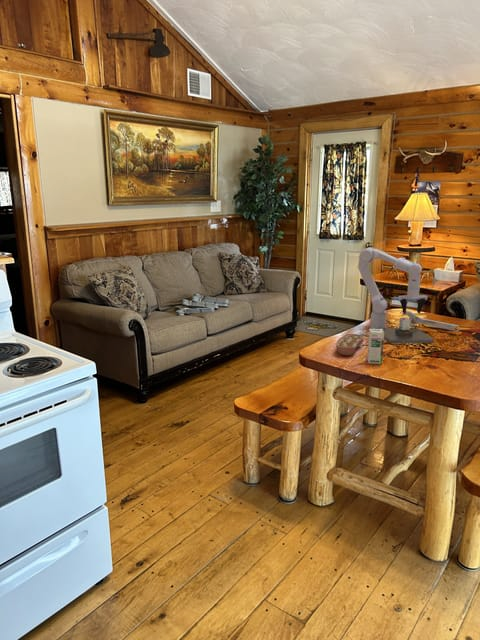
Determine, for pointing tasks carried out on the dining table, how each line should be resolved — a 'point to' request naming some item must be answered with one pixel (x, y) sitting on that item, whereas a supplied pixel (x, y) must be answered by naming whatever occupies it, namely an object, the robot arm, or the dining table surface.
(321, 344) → the dining table surface
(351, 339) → the brown rounded block
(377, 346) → the syrup box
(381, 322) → the robot arm
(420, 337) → the stand
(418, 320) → the wrench
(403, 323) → the grey block
